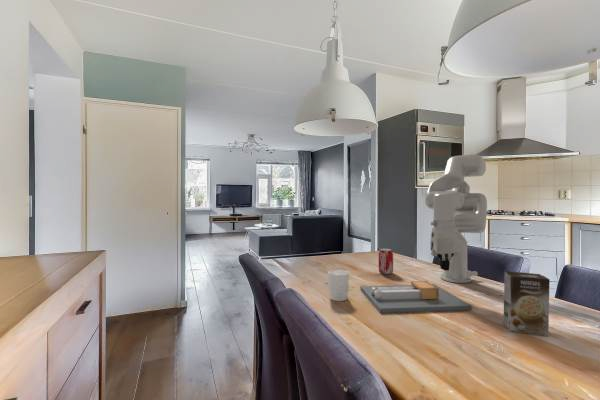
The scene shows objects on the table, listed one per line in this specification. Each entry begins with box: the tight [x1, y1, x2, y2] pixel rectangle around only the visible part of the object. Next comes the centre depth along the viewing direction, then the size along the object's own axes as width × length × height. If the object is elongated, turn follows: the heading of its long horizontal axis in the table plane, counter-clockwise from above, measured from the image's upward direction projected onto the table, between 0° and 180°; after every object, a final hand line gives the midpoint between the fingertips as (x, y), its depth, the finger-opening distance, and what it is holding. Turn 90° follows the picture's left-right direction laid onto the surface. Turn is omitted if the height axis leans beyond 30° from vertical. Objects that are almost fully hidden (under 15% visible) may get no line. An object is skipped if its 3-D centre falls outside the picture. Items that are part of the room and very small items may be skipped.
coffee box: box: [503, 270, 551, 337], centre depth 85 cm, size 9×6×16 cm
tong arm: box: [371, 286, 418, 296], centre depth 111 cm, size 21×3×2 cm, turn 94°
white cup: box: [327, 269, 350, 302], centre depth 111 cm, size 8×8×10 cm
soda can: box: [378, 247, 394, 275], centre depth 147 cm, size 7×7×12 cm
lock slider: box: [410, 280, 439, 299], centre depth 110 cm, size 6×9×4 cm, turn 4°
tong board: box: [359, 283, 473, 314], centre depth 110 cm, size 32×24×4 cm
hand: (444, 269), depth 116 cm, fingers closed
